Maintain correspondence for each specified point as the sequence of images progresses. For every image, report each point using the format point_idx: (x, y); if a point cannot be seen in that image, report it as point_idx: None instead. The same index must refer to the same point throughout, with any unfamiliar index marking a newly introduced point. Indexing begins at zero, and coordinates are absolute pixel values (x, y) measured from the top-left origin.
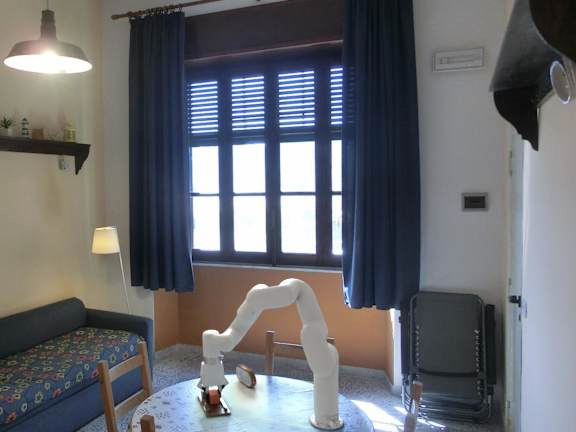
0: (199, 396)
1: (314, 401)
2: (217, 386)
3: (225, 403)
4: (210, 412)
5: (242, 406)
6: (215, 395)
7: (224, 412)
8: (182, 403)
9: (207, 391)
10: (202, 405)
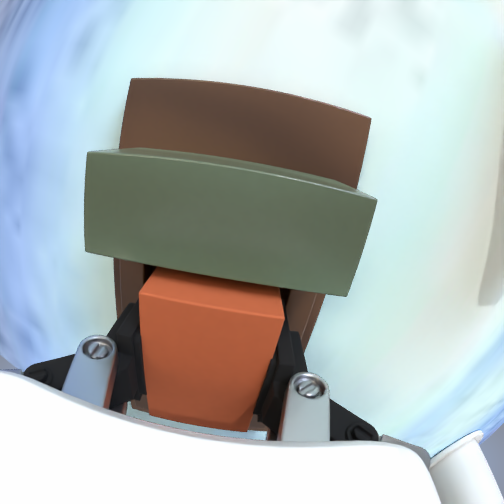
0: (133, 114)
1: (450, 498)
2: (283, 413)
3: (304, 349)
4: None
5: (384, 371)
6: (204, 422)
7: None
8: (18, 168)
9: (114, 407)
10: (116, 297)
